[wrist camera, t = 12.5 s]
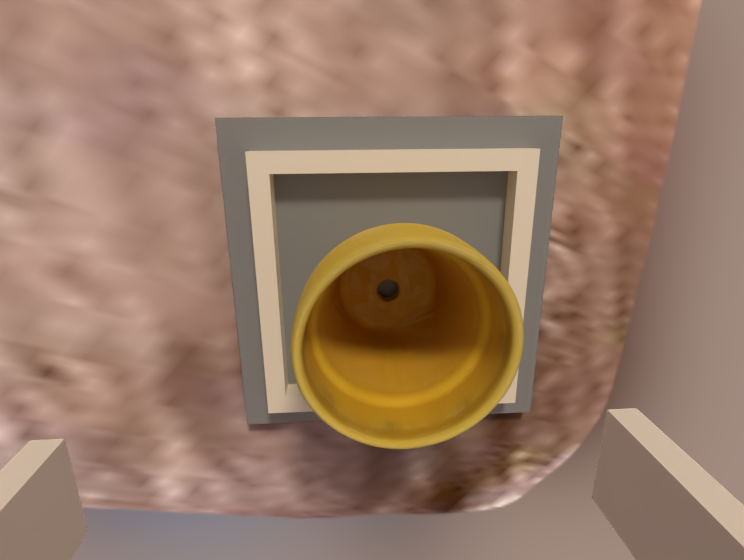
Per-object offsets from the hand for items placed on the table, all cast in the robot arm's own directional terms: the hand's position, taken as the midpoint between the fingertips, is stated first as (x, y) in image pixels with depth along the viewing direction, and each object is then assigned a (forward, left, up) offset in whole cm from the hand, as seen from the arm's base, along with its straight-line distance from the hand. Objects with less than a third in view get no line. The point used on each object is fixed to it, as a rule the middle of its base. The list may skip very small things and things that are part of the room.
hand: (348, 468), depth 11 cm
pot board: (+3, -1, -19) cm, 19 cm away
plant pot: (+3, -1, -18) cm, 18 cm away
